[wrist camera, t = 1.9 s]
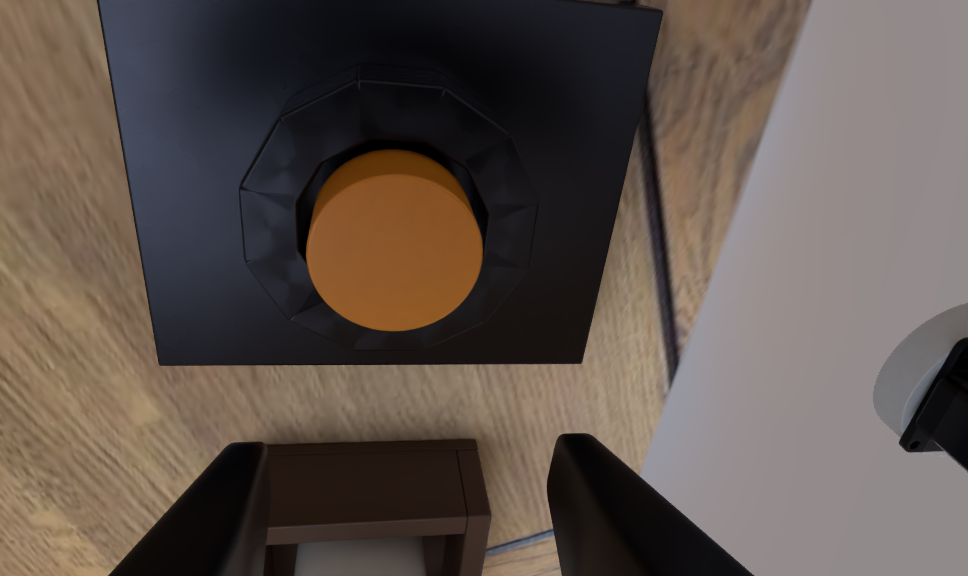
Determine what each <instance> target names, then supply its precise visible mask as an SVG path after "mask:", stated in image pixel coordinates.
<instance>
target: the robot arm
mask: <svg viewBox="0 0 968 576" xmlns="http://www.w3.org/2000/svg"><path fill="white" fill-rule="evenodd" d="M899 445H900V446H901V447H902V448H903V449H904V450H905V451H906V452H910V453H913V452H939V451H945V452H946V453H947V454H948V455H949V456H950V457H951V458H952V459H954V460H955V461H956V462H957V463H958V464H959V465H960V466H961V467H963V468H964V469H965V470H966V471H967V472H968V337H965V338H963V339H960V340H959V341H958V342H957V343H956V344H955V345H954V346H953V348H952V350H951V351H950V353H949V355H948V357H947V358H946V360H945V362H944V364H943V365H942V367H941V369H940V370H939V372H938V374H937V376H936V377H935V379H934V381H933V383H932V384H931V386H930V388H929V390H928V391H927V393H926V395H925V396H924V398H923V400H922V402H921V403H920V405H919V407H918V409H917V410H916V412H915V414H914V416H913V417H912V419H911V421H910V423H909V424H908V426H907V428H906V429H905V431H904V433H903V435H902V436H901V438H900V440H899ZM547 496H548V502H549V508H550V513H551V519H552V524H553V529H554V535H555V540H556V546H557V551H558V556H559V562H560V567H561V573H562V576H754V575H753V574H752V573H750V572H749V571H748V570H747V569H746V568H745V567H743V566H742V565H741V564H740V563H739V562H738V561H736V560H735V559H734V558H733V557H732V556H731V555H730V554H728V553H727V552H726V551H725V550H724V549H723V548H721V547H720V546H719V545H718V544H717V543H716V542H715V541H713V540H712V539H711V538H710V537H709V536H708V535H707V534H705V533H704V532H703V531H702V530H701V529H700V528H698V527H697V526H696V525H695V524H694V523H693V522H692V521H690V520H689V519H688V518H687V517H686V516H685V515H683V514H682V513H681V512H680V511H679V510H678V509H676V508H675V507H674V506H673V505H672V504H671V503H669V502H668V501H667V500H666V499H665V498H664V497H663V496H662V495H660V494H659V493H658V492H657V491H656V490H655V489H654V488H652V487H651V486H650V485H649V484H648V483H647V482H645V481H644V480H643V479H642V478H641V477H640V476H639V475H637V474H636V473H635V472H634V471H633V470H632V469H630V468H629V467H628V466H627V465H626V464H625V463H624V462H622V461H621V460H620V459H619V458H618V457H617V456H615V455H614V454H613V453H612V452H611V451H610V450H609V449H607V448H606V447H605V446H604V445H603V444H602V443H600V442H599V441H598V440H597V439H596V438H595V437H593V436H592V435H590V434H587V433H574V434H562V435H560V436H559V437H558V439H557V441H556V444H555V448H554V452H553V457H552V461H551V466H550V470H549V474H548V479H547ZM270 505H271V489H270V475H269V461H268V449H267V446H266V445H265V444H264V443H263V442H236V443H231V444H229V445H228V446H226V447H225V448H224V450H223V451H222V452H221V453H220V454H219V455H218V456H217V457H216V458H215V459H214V460H213V462H212V463H211V464H210V465H209V466H208V467H207V468H206V469H205V470H204V471H203V472H202V474H201V475H200V476H199V477H198V478H197V479H196V480H195V481H194V482H193V483H192V485H191V486H190V487H189V488H188V489H187V490H186V491H185V492H184V493H183V494H182V495H181V497H180V498H179V499H178V500H177V501H176V502H175V503H174V504H173V505H172V506H171V507H170V509H169V510H168V511H167V512H166V513H165V514H164V515H163V516H162V517H161V518H160V519H159V521H158V522H157V523H156V524H155V525H154V526H153V527H152V528H151V529H150V530H149V532H148V533H147V534H146V535H145V536H144V537H143V538H142V539H141V540H140V541H139V542H138V544H137V545H136V546H135V547H134V548H133V549H132V550H131V551H130V552H129V553H128V554H127V556H126V557H125V558H124V559H123V560H122V561H121V562H120V563H119V564H118V565H117V566H116V568H115V569H114V570H113V571H112V572H111V573H110V574H109V575H108V576H263V569H264V560H265V551H266V542H267V533H268V524H269V516H270Z"/></svg>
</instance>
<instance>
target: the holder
mask: <svg viewBox="0 0 968 576" xmlns="http://www.w3.org/2000/svg"><path fill="white" fill-rule="evenodd" d="M267 449H268V461H269V475H270V489H271V505H270V516H269V524H268V533H267V542H266V551H265V560H264V569H263V576H293V575H294V567H295V558H296V550H297V543H312V542H329V541H346V540H363V539H380V538H397V537H414V536H423V537H424V548H425V559H426V570H427V576H481V575H482V569H483V563H484V557H485V551H486V545H487V540H488V534H489V528H490V522H491V516H492V515H491V510H490V505H489V501H488V496H487V491H486V487H485V482H484V477H483V473H482V468H481V463H480V459H479V454H478V451H477V450H478V448H477V443H476V440H445V441H411V442H376V443H341V444H306V445H272V446H267Z"/></svg>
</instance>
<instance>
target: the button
mask: <svg viewBox="0 0 968 576" xmlns="http://www.w3.org/2000/svg"><path fill="white" fill-rule="evenodd" d="M482 258H483V245H482V238H481V234H480V230H479V227H478V224H477V222H476V219H475V216H474V214H473V211H472V209H471V206H470V203H469V201H468V198H467V196H466V193H465V191H464V190H463V188H462V186H461V184H460V183H459V182H458V180H457V179H456V178H455V176H454V175H453V174H452V173H451V172H450V171H449V170H448V169H447V168H445V167H444V166H443V165H441V164H440V163H439V162H437V161H435V160H433V159H432V158H430V157H428V156H425V155H423V154H420V153H417V152H413V151H409V150H402V149H382V150H375V151H371V152H367V153H364V154H361V155H359V156H356V157H354V158H352V159H351V160H349V161H347V162H345V163H344V164H343V165H341V166H340V167H339V168H337V169H336V170H335V171H334V172H333V173H332V174H331V175H330V176H329V178H328V179H327V180H326V182H325V183H324V184H323V186H322V188H321V190H320V192H319V193H318V196H317V199H316V201H315V205H314V210H313V215H312V220H311V225H310V229H309V234H308V239H307V245H306V259H307V267H308V271H309V274H310V277H311V280H312V282H313V284H314V286H315V288H316V290H317V291H318V293H319V294H320V296H321V297H322V298H323V299H324V301H325V302H326V303H327V304H328V305H329V306H330V307H331V308H332V309H333V310H334V311H336V312H337V313H339V314H340V315H341V316H343V317H344V318H346V319H348V320H350V321H351V322H354V323H356V324H359V325H361V326H364V327H368V328H371V329H376V330H382V331H405V330H411V329H416V328H420V327H424V326H426V325H429V324H432V323H434V322H436V321H438V320H440V319H442V318H444V317H445V316H446V315H448V314H449V313H451V312H452V311H453V310H454V309H456V308H457V307H458V306H459V305H460V304H461V303H462V302H463V301H464V299H465V298H466V297H467V296H468V294H469V293H470V291H471V290H472V288H473V286H474V284H475V283H476V281H477V278H478V275H479V273H480V270H481V264H482Z"/></svg>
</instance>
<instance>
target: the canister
mask: <svg viewBox="0 0 968 576" xmlns="http://www.w3.org/2000/svg"><path fill="white" fill-rule="evenodd" d="M293 576H427V570H426V559H425V548H424V537H423V536H414V537H397V538H380V539H363V540H346V541H329V542H312V543H297V550H296V558H295V567H294V575H293Z"/></svg>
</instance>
